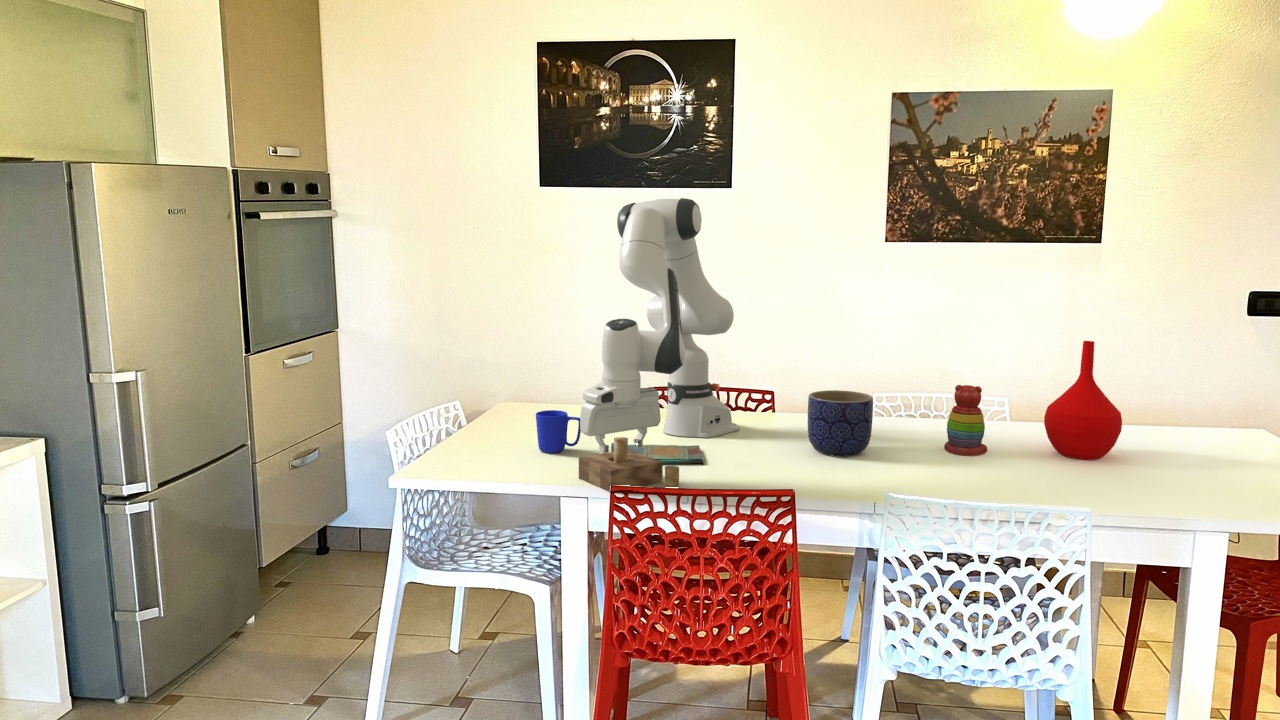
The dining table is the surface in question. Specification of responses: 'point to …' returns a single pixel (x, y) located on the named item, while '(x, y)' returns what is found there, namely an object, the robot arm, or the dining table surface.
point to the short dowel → (671, 476)
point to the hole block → (620, 470)
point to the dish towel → (670, 453)
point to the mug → (554, 430)
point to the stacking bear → (966, 423)
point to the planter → (840, 422)
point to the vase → (1083, 416)
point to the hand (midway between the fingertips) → (621, 449)
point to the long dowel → (620, 449)
